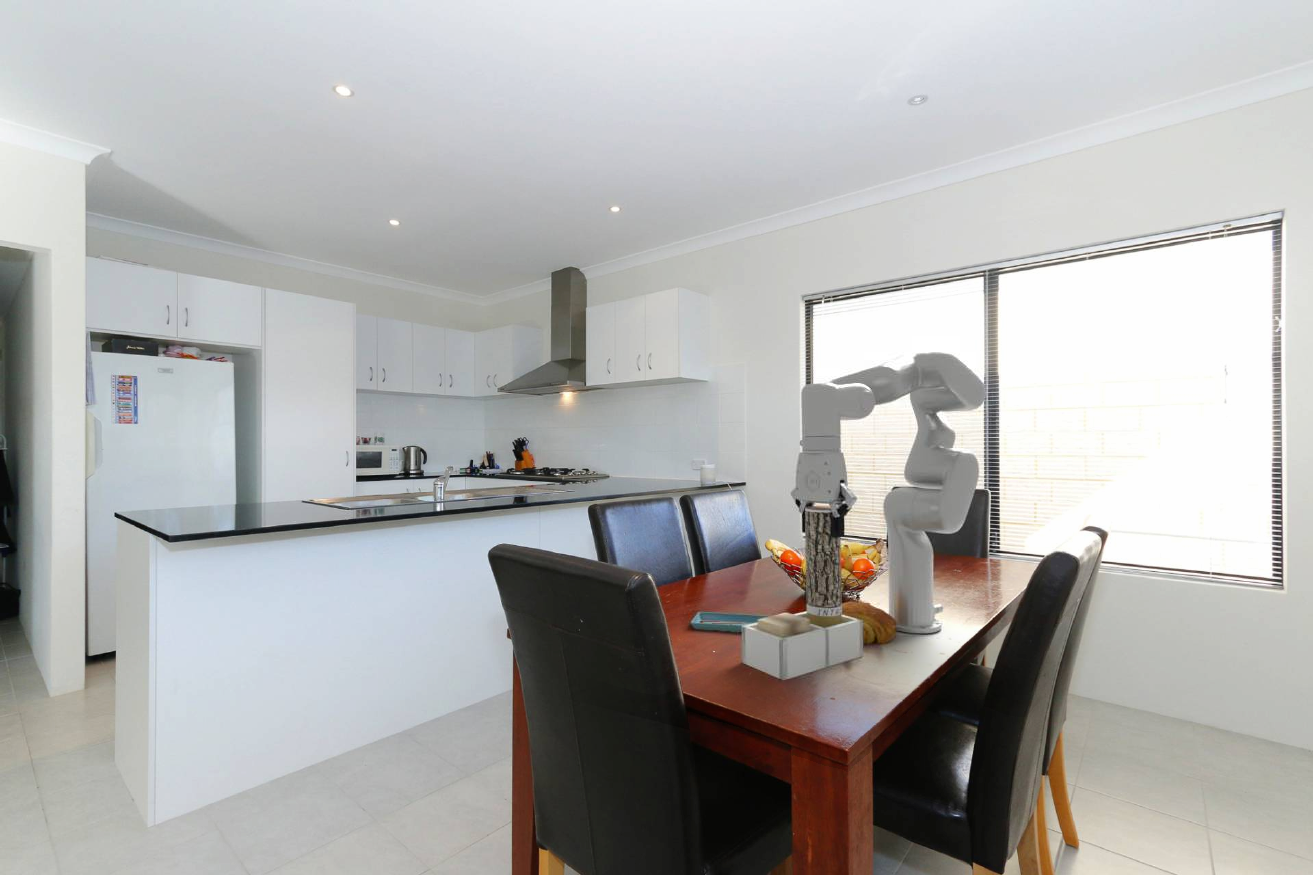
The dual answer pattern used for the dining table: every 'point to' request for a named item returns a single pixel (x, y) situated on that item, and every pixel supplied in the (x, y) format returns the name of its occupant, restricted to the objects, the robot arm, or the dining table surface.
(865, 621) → the croissant
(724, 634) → the dining table surface
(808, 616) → the bark print cylinder
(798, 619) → the offcut top
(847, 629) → the divided box
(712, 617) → the teal serving tray
